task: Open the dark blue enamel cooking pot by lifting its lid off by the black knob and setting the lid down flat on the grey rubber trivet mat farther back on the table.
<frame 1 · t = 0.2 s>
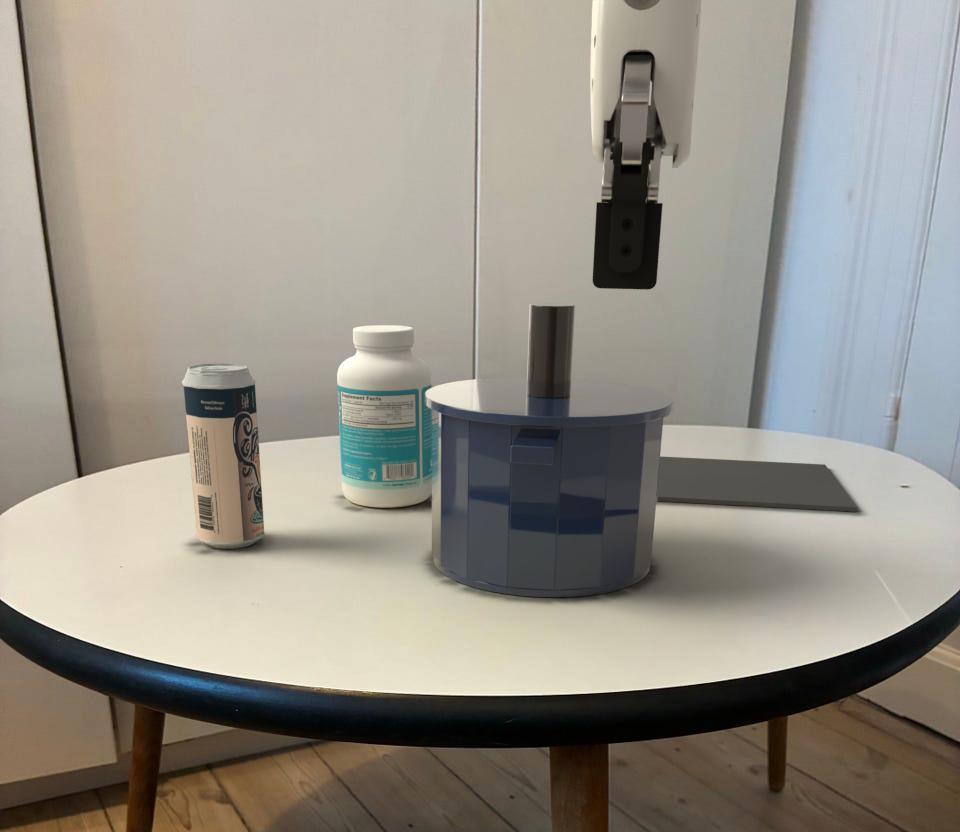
hand: (625, 283, 56), 18 cm above the table, tool pointing down, fingers open, 9 cm apart
pot: (541, 560, 69), on the table
trivet: (746, 483, 91), on the table
lid: (548, 404, 65), point 10 cm above the table, touching pot
beer can: (231, 543, 72), on the table
pill bottle: (387, 500, 84), on the table
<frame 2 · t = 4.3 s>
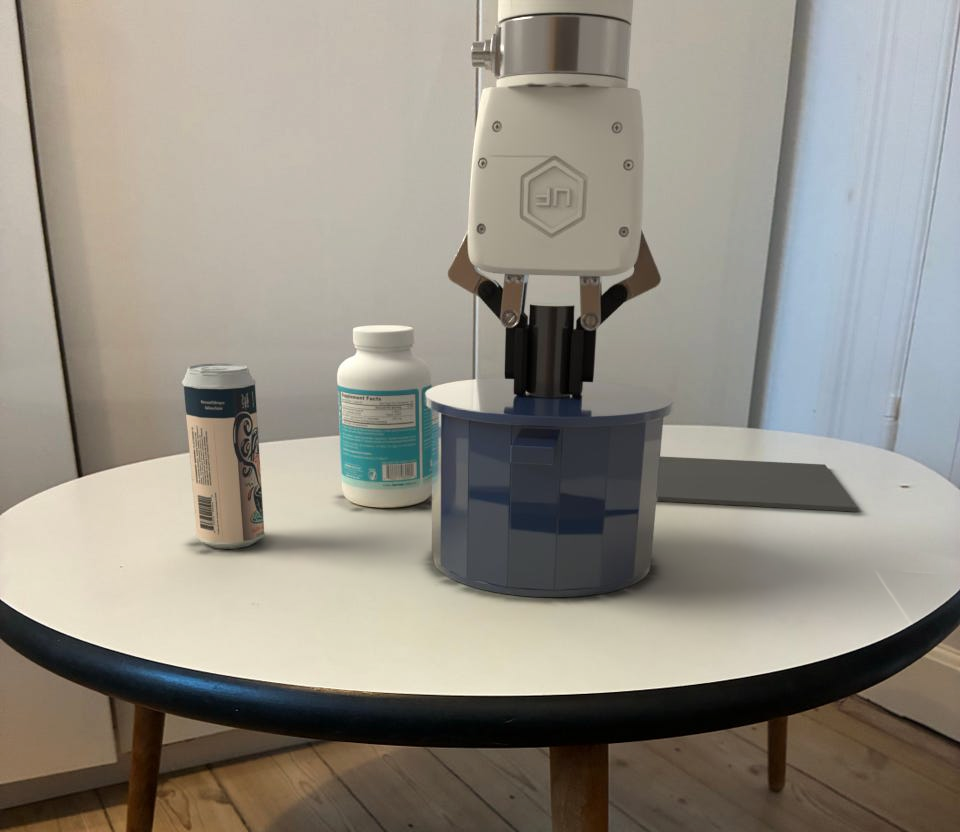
hand: (548, 390, 65), 11 cm above the table, tool pointing down, fingers closed on lid, 2 cm apart
lid: (548, 404, 65), point 11 cm above the table, touching gripper, pot
everything else where it was.
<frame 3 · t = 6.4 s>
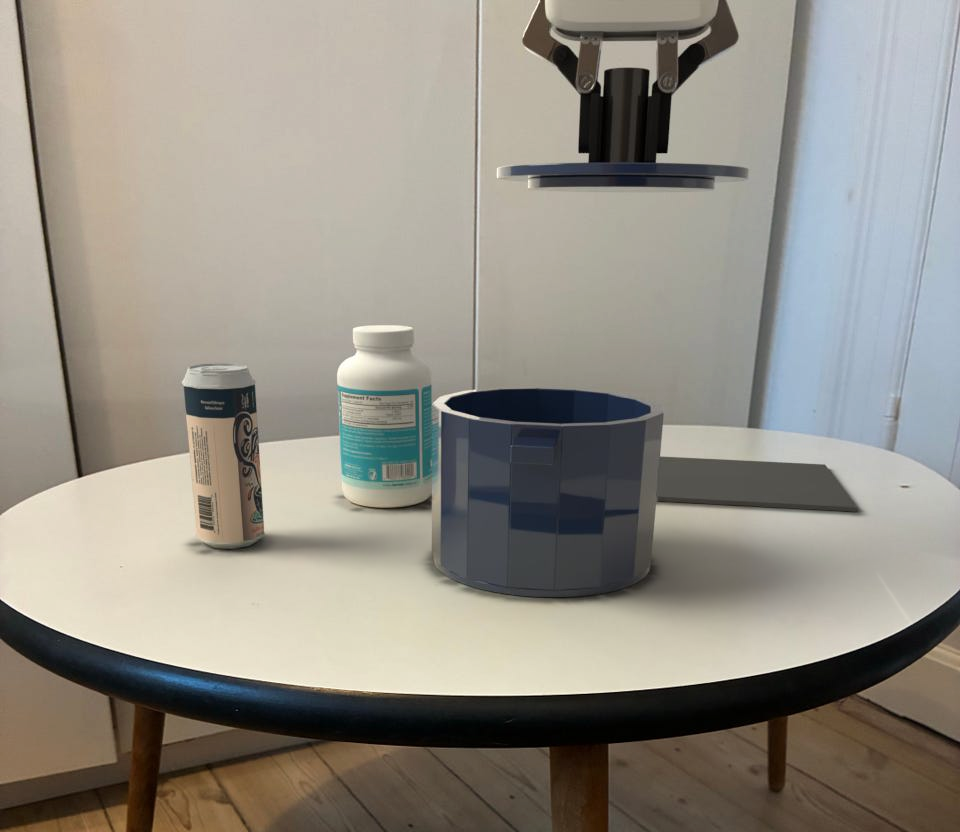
hand: (622, 163, 65), 25 cm above the table, tool pointing down, fingers closed on lid, 2 cm apart
lid: (620, 179, 65), point 24 cm above the table, touching gripper
everything else where it was.
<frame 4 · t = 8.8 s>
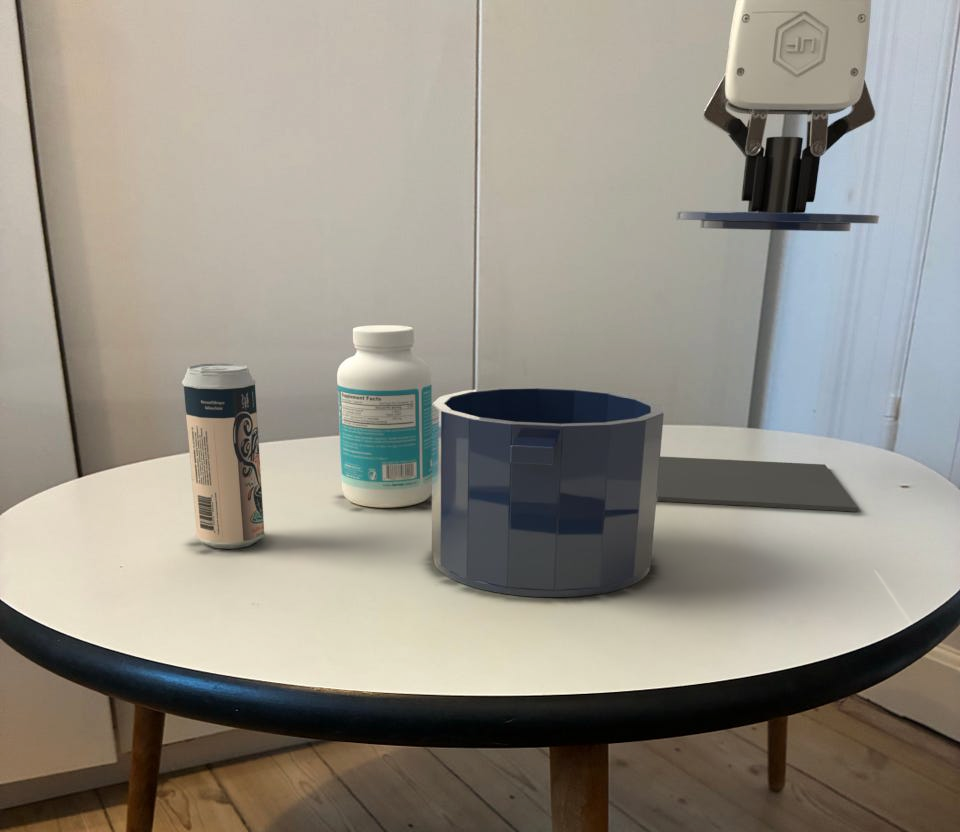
hand: (776, 209, 82), 23 cm above the table, tool pointing down, fingers closed on lid, 2 cm apart
lid: (774, 221, 83), point 22 cm above the table, touching gripper
everything else where it was.
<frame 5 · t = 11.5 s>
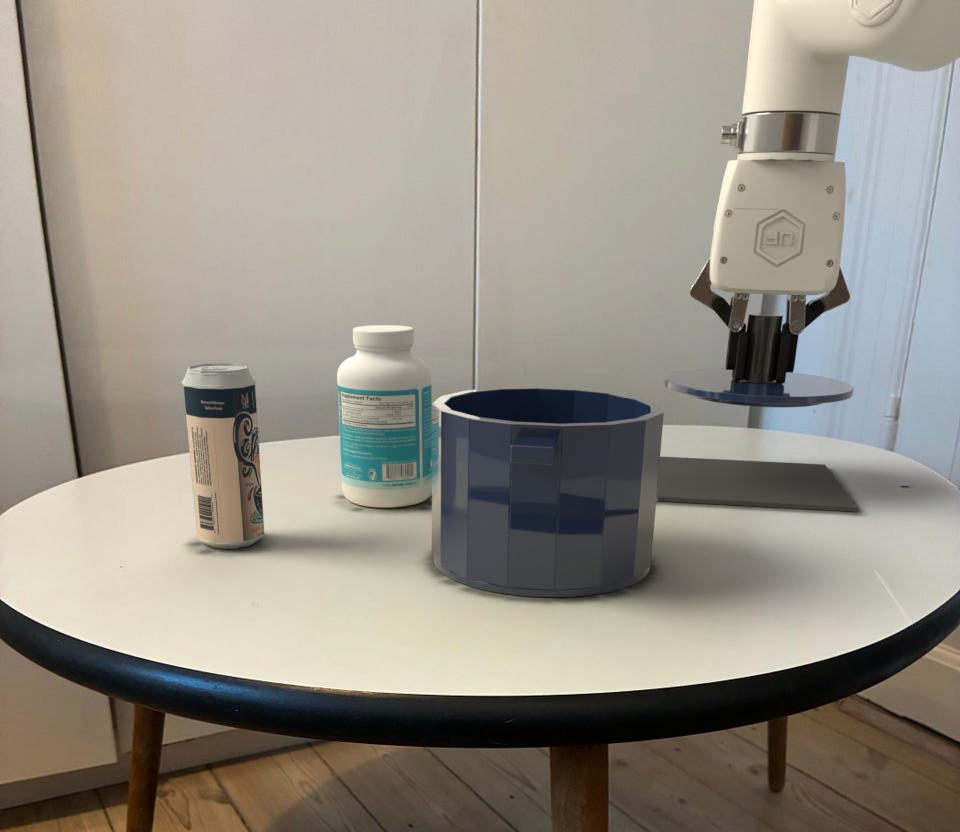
hand: (757, 378, 88), 9 cm above the table, tool pointing down, fingers closed on lid, 2 cm apart
lid: (756, 388, 88), point 8 cm above the table, touching gripper
everything else where it was.
when the fingers open (2 cm above the table, at t = 13.4 s): lid stays where it is, resting on trivet.
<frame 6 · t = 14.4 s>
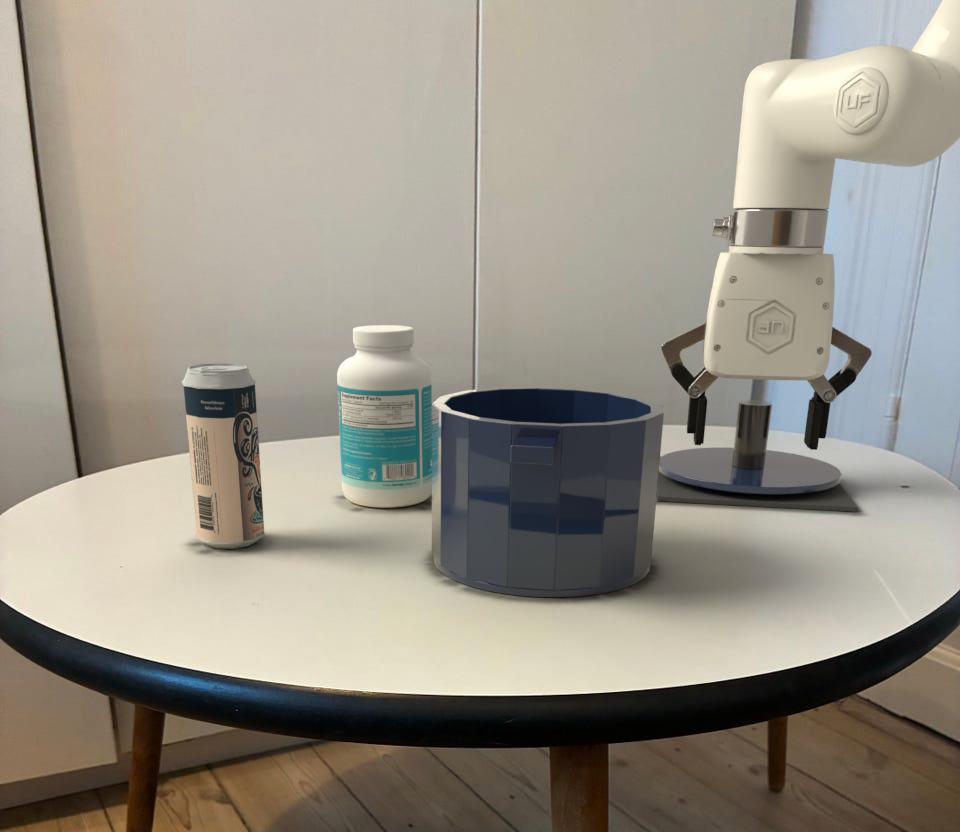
hand: (753, 444, 90), 4 cm above the table, tool pointing down, fingers open, 9 cm apart
lid: (747, 472, 91), point 1 cm above the table, touching trivet
everything else where it was.
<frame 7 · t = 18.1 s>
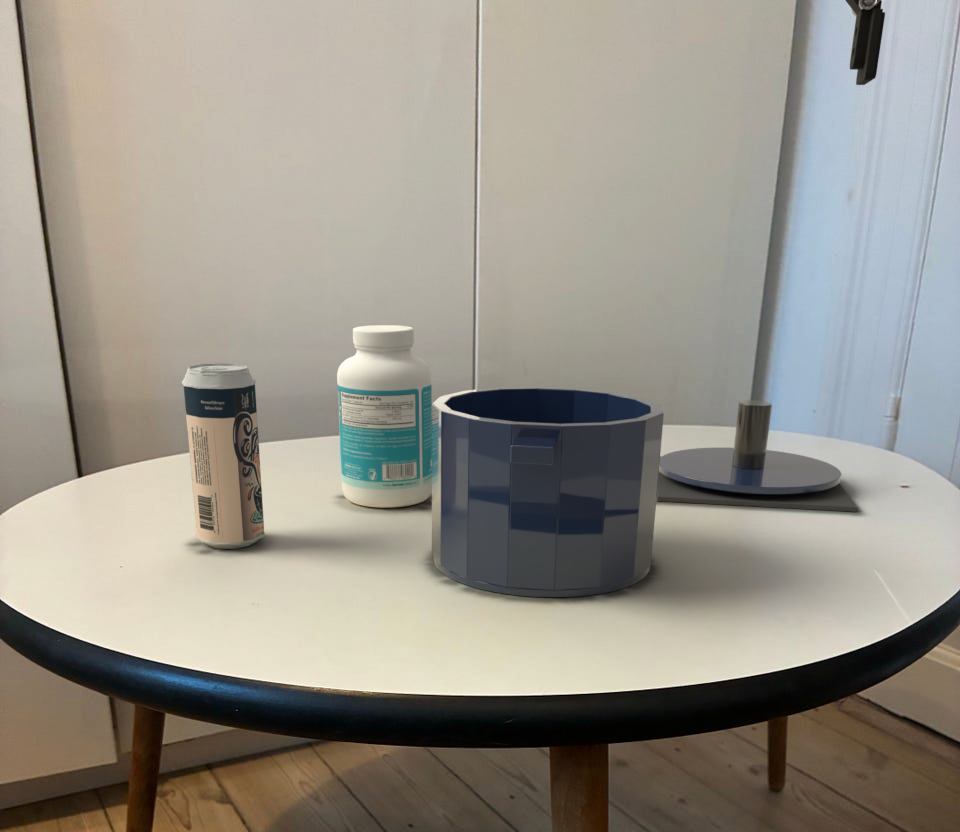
hand: (940, 82, 68), 30 cm above the table, tool pointing down, fingers open, 9 cm apart
nothing on the table moved.
at the end: lid inside the target area on the trivet (0.1 cm from its centre), point 1.0 cm above the trivet's base; lid touching trivet; lid tilted 0° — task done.
